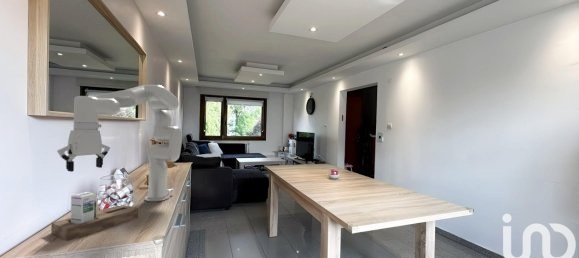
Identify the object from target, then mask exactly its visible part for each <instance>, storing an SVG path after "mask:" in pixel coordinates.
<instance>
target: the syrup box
mask: <svg viewBox="0 0 579 258" xmlns="http://www.w3.org/2000/svg"><path fill="white" fill-rule="evenodd" d="M70 200H71V201H70V218H71V223H73V224H76V225H78V224H81V223H85V222H88V221H92V220H95V219H96V211H97V192H93V191H85V192H81V193H77V194H73V195H71V197H70Z"/></svg>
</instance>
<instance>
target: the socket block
mask: <svg viewBox="0 0 579 258" xmlns="http://www.w3.org/2000/svg"><path fill="white" fill-rule="evenodd" d="M120 205H121V206H118V205H115V206H116V207H114V206H110V207H111V208H110V207H109V208H108V207H107V208H103V209H100V210H99V209H98V210H96V219H95V220H92V221H88V222H85V223H81V224H78V225H76V224H73V223H71V217H69V218H65V219H61V220H57V221H54V222H51V230H50V231H51V234H53V235H54V236H56V237H58V238H60V239H63V240H65V241H70V240H72V239H76V238H79V237H82V236H85V235H88V234H91V233H94V232H98V231H100V230H104V229H107V228H109V227H113V226H116V225H119V224H122V223H125V222H127V221H128V222H129V221H131V220H133V219H137V218H139V216H138V215H139V208H136V207H133V206H130V205H126V204H123V205H122V204H120Z"/></svg>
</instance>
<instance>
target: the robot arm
mask: <svg viewBox="0 0 579 258" xmlns="http://www.w3.org/2000/svg"><path fill="white" fill-rule="evenodd" d="M73 99H74V100H73V130H70V133H69V135H68V140H67V145H66V146H64V147H62V148H60V149H57V150H56V152H57V154H58V155H59V156H60V158H62V159H63V160H64V161H65V164H66V165H65V169H66V170H67V171H68V172H74V170H75V161H74V159H75V158H76V157H80V156H93V155H95V156H96V158H95V167H96V168H99V169H101V168H103V165H104V158H105V156H107V154H108V152H110V149H111V147H110V146H108V145H105V144H103V142H102V141H103V140H102V135H101V131H100V129H99V128H102V124H101V123H99V116H115V115H116V114H118V113H119V112H120V110H121V109H122V108H123V109H125V108H133V107H135V106H139V105H141V104H144V103H146V102H147V105H148V106H149V108H150V109H151V111H152V112H153V115H154V117H155V118H154V125H153V126H154V127H153V134H152V136H153V140H154V141H155V142H160V144H159V143H155V144H152V145H150V146H149V147H148V149H147V153H146V154H147V158H148V191H147V195H146V196H145V197H144V200H145V201H147V202H161V201H165V200H168V199H169V198H170V197H171V195H170V193H174V191H175V189H174V188H170V189H169V188H168V169H169V168H168V165H167V162H176V161H177V160H179V158H180V156H181V151H182V149H181V148H182V143H183V132H182V129H181V128H180V127H178V126H175V125H174V126H172V116H171V114H170V112H169V111H175V110H177V109H178V107H179V104H180V103H179V99H178V98H177V96H175V94H173V93H172V92H171V91H170V90H169V89H167V88H166V87H165V86H162V85H160V84H142V85H138V86H135V87H131V88H127V89H124V90H118V91H113V92H108V93H107V92H106V93H101V94H97V95H94V96H86V95H78V96H75V97H74V98H73ZM161 143H162V144H161ZM163 143H165V144H163ZM166 143H168V144H166ZM65 152H67V155H66V154H65Z"/></svg>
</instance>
